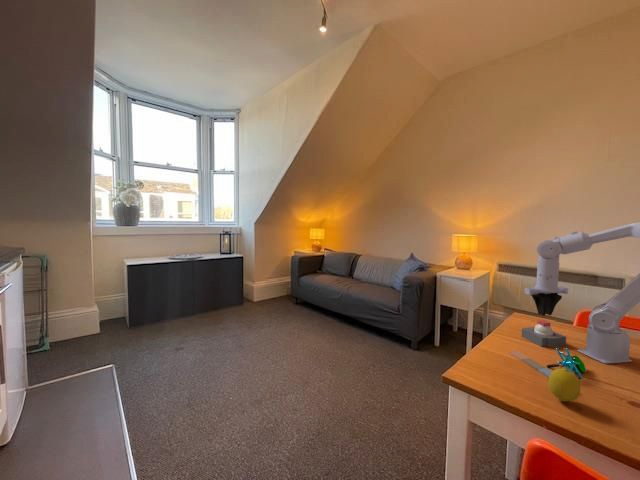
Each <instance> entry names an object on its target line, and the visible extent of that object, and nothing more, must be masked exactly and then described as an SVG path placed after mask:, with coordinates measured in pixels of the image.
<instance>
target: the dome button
mask: <svg viewBox="0 0 640 480" xmlns="http://www.w3.org/2000/svg"><path fill="white" fill-rule="evenodd" d="M534 327H535V328H534V332H536V333H538V334H540V335H543V336H550V335H553V331H554V330H553V328H552V327H551V322H549V321H547V320H543V319H542V320H537V323H536V324H535V326H534Z"/></svg>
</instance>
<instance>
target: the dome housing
mask: <svg viewBox="0 0 640 480" xmlns="http://www.w3.org/2000/svg"><path fill="white" fill-rule="evenodd" d="M534 328H535V326H530V327H524V328H521V338H524V339H525V340H528V341H529V342H531V343H533V344H535V345H537V346H539V347H541V348H544V347H547V348H560V347H563V345H564V346H567V336H565V335H564V334H561V333H559V332H556V331H554V330H553V335H550V336H543V335H540V334H538V333H536V332H534Z"/></svg>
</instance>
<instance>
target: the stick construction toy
mask: <svg viewBox="0 0 640 480" xmlns="http://www.w3.org/2000/svg"><path fill="white" fill-rule="evenodd" d="M560 350H561V348H560V347H556V348H555V351H556V352H557V353H558V356H559V357H560V358H561V361H557V363H553V364H547V365H546V368H548V369H551V368H558V367H560V368H566V369H567V370H568V371H570V372H572V373H573V374H574V375H578V376H579V377H577V378H578V380H583V379H584V378H583V376H582V374H581V373H583V374H584V373H586V371H587V369H586V365H585V364H584V362H583V360H582V359H581V358H580V356H577V355H571V353H570V350H569V348H568V347H567V348H566V347H565V348H563V351H566V354H565V353H564V352H563V351H560Z"/></svg>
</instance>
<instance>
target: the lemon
mask: <svg viewBox="0 0 640 480" xmlns="http://www.w3.org/2000/svg"><path fill="white" fill-rule="evenodd" d="M552 371H553V372H552V373H551V374H550V377H549V378H548V388H549V390H550V392H551V393H552V395H554V396H555V397H556V398H557V399H559V400H560V401H561V402H563V403H564V402H573V401H576V400H577V399H578V398H579V396H580V393H581V384H580V381H579V379H578V378H579V377H577V376H576V374H575V373H573V372H570V370H569V371H568V370H567V369H566V367H562V368H557V369H554V370H552Z"/></svg>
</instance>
